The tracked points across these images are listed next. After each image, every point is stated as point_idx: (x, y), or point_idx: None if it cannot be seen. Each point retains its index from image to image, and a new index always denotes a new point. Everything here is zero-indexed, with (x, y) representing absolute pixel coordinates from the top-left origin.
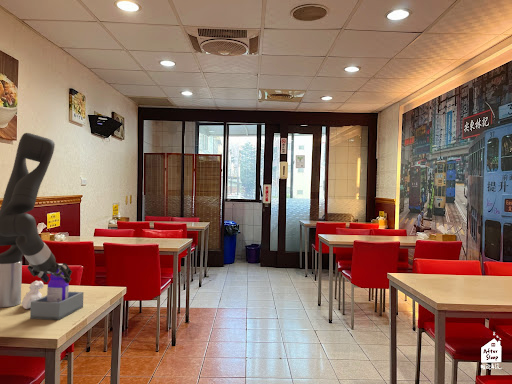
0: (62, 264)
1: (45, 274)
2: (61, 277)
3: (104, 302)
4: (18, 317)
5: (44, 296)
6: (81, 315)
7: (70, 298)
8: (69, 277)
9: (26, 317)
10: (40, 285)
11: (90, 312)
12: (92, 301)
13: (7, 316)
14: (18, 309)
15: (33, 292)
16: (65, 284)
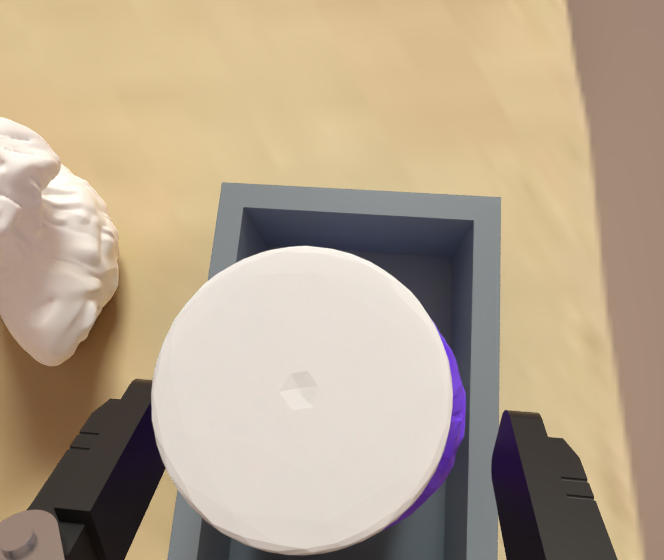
0: (384, 354)
1: (110, 499)
2: (426, 494)
3: (573, 111)
4: None
5: None
6: None
7: None
8: (593, 515)
9: (164, 541)
10: (32, 192)
11: (607, 377)
12: (464, 96)
13: None
14: (9, 339)
15: (19, 253)
16: (459, 443)
